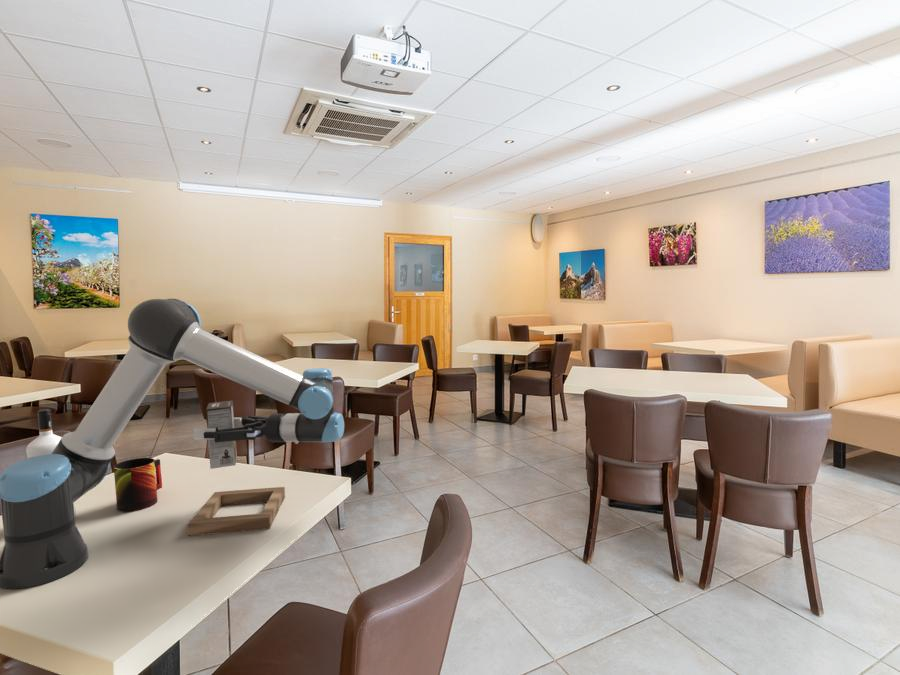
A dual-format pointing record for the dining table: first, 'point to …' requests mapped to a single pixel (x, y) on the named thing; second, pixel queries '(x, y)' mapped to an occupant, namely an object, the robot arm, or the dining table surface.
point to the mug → (137, 484)
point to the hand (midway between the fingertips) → (207, 428)
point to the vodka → (44, 438)
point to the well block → (210, 525)
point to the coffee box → (223, 419)
